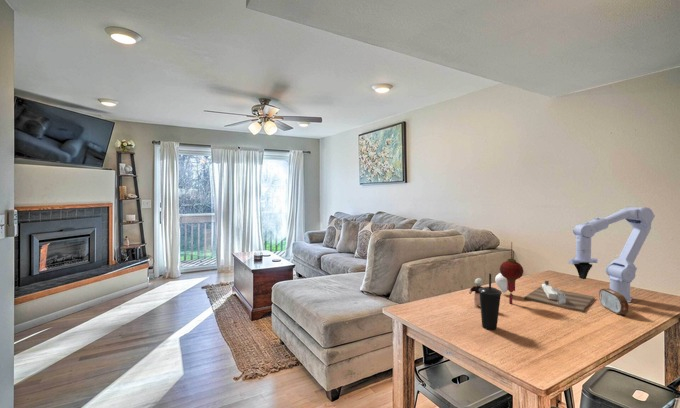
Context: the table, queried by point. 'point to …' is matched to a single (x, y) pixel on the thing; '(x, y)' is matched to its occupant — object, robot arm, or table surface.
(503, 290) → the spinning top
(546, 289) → the pivot bar
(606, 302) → the tin
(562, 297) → the block
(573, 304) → the pivot board
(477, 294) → the grandmother figurine
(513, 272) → the lantern
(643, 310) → the table surface
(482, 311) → the drinking cup
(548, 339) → the table surface
